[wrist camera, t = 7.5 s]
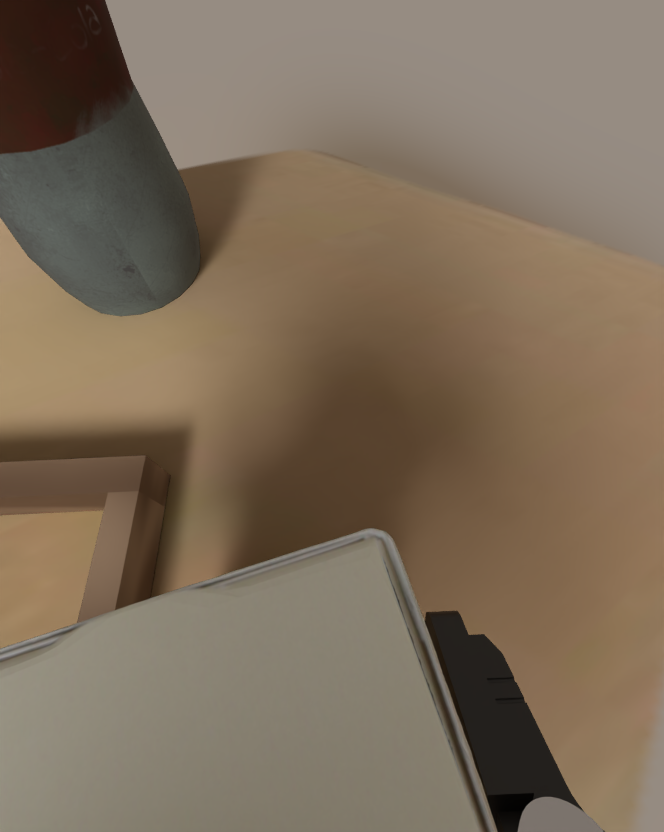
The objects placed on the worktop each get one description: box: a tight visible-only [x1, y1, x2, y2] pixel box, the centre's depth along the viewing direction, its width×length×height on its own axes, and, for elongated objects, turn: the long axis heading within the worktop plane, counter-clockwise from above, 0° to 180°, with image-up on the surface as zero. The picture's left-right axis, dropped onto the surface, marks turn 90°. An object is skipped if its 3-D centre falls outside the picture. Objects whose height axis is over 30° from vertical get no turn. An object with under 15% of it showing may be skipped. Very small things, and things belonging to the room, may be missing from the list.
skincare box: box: [0, 528, 498, 832], centre depth 9 cm, size 6×4×12 cm
